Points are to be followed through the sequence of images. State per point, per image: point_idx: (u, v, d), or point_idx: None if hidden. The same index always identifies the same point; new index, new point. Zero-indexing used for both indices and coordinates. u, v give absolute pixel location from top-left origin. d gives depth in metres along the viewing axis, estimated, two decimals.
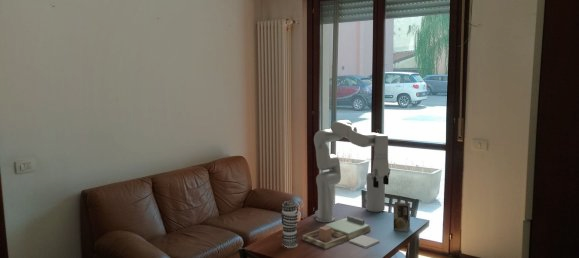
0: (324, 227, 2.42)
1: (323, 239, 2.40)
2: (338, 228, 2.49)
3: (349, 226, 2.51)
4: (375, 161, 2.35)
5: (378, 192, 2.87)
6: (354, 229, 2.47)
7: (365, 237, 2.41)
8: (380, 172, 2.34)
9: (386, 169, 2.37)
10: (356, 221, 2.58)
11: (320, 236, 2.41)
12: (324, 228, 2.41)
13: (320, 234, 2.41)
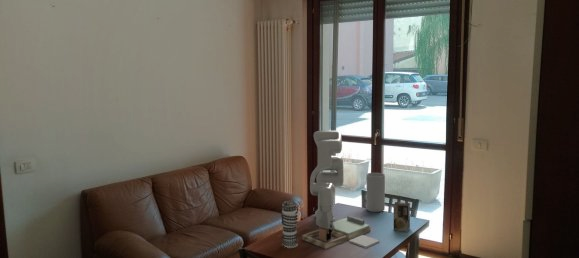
0: None
1: (323, 239, 2.40)
2: (338, 228, 2.49)
3: (349, 226, 2.51)
4: (330, 213, 2.37)
5: (378, 192, 2.87)
6: (354, 229, 2.47)
7: (365, 237, 2.41)
8: None
9: None
10: (356, 221, 2.58)
11: (320, 236, 2.41)
12: (324, 228, 2.41)
13: (320, 234, 2.41)
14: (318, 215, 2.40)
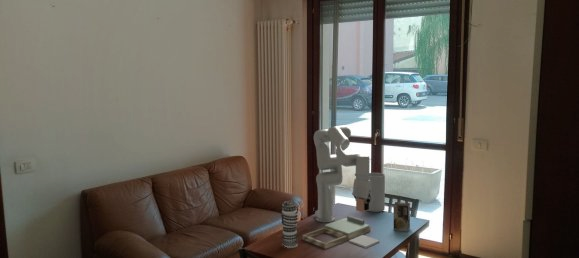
0: None
1: (361, 209, 2.33)
2: (338, 228, 2.49)
3: (349, 226, 2.51)
4: (368, 182, 2.29)
5: (378, 192, 2.87)
6: (354, 229, 2.47)
7: (365, 237, 2.41)
8: None
9: None
10: (356, 221, 2.58)
11: (357, 206, 2.34)
12: (362, 198, 2.34)
13: (357, 204, 2.34)
14: (356, 185, 2.33)
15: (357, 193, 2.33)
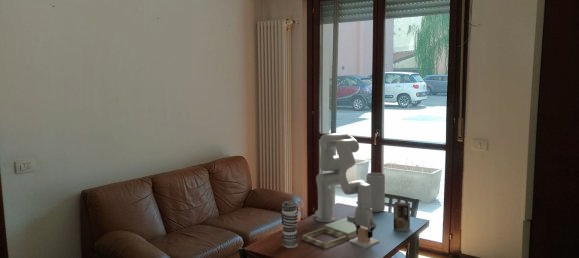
0: (363, 228, 2.37)
1: (362, 240, 2.35)
2: (338, 228, 2.49)
3: (349, 226, 2.51)
4: (370, 211, 2.31)
5: (378, 192, 2.87)
6: (354, 229, 2.47)
7: None
8: None
9: None
10: None
11: (359, 237, 2.36)
12: (363, 228, 2.36)
13: (359, 235, 2.36)
14: (358, 213, 2.35)
15: (359, 221, 2.35)
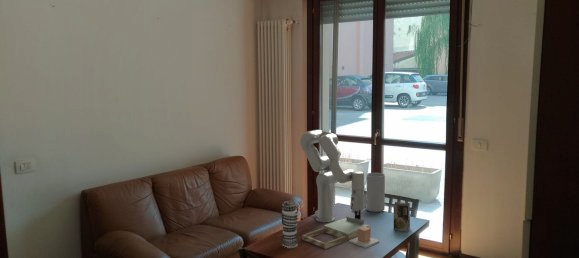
0: (363, 228, 2.37)
1: (362, 240, 2.35)
2: (337, 228, 2.48)
3: (348, 227, 2.51)
4: None
5: (378, 192, 2.87)
6: (353, 229, 2.46)
7: None
8: None
9: None
10: (355, 222, 2.57)
11: (359, 237, 2.36)
12: (363, 228, 2.36)
13: (359, 235, 2.36)
14: (359, 200, 2.56)
15: (360, 207, 2.57)
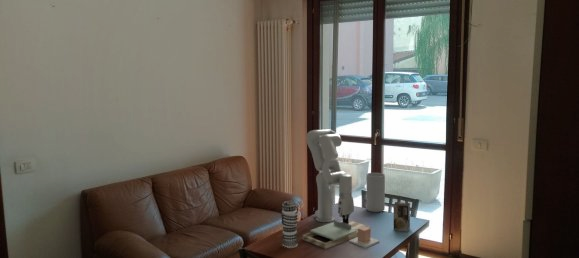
0: (363, 228, 2.37)
1: (362, 240, 2.35)
2: (324, 233, 2.41)
3: (335, 232, 2.43)
4: None
5: (378, 192, 2.87)
6: (340, 234, 2.39)
7: None
8: None
9: None
10: (343, 226, 2.50)
11: (359, 237, 2.36)
12: (363, 228, 2.36)
13: (359, 235, 2.36)
14: (346, 203, 2.48)
15: (347, 211, 2.49)
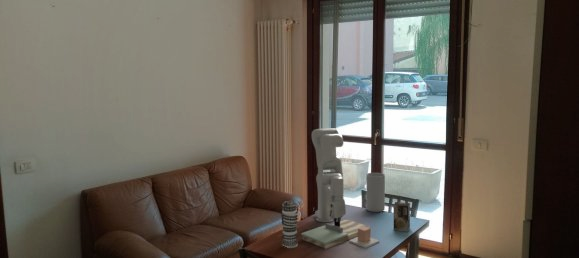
0: (363, 228, 2.37)
1: (362, 240, 2.35)
2: (314, 237, 2.36)
3: (326, 235, 2.38)
4: None
5: (378, 192, 2.87)
6: (331, 238, 2.34)
7: None
8: None
9: None
10: (334, 229, 2.45)
11: (359, 237, 2.36)
12: (363, 228, 2.36)
13: (359, 235, 2.36)
14: (338, 206, 2.43)
15: (339, 214, 2.44)
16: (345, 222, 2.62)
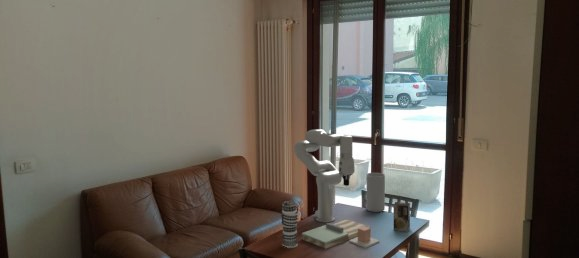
0: (363, 228, 2.37)
1: (362, 240, 2.35)
2: (315, 236, 2.37)
3: (327, 235, 2.39)
4: None
5: (378, 192, 2.87)
6: (332, 238, 2.34)
7: None
8: None
9: None
10: (335, 229, 2.45)
11: (359, 237, 2.36)
12: (363, 228, 2.36)
13: (359, 235, 2.36)
14: (347, 164, 2.52)
15: (348, 171, 2.53)
16: (345, 222, 2.62)
